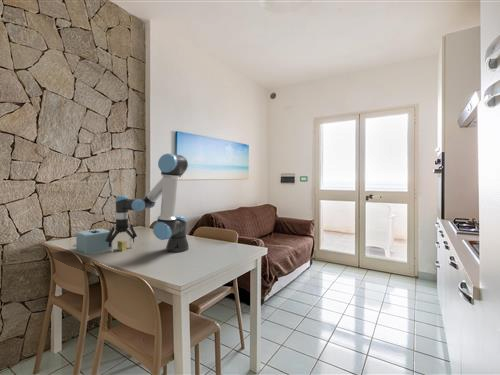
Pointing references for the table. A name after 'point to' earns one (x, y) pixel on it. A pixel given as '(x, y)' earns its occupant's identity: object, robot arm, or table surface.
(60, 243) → the table surface
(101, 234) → the box
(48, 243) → the table surface
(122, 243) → the yellow rectangular block
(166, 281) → the table surface
